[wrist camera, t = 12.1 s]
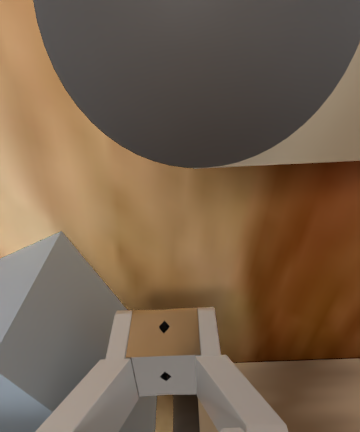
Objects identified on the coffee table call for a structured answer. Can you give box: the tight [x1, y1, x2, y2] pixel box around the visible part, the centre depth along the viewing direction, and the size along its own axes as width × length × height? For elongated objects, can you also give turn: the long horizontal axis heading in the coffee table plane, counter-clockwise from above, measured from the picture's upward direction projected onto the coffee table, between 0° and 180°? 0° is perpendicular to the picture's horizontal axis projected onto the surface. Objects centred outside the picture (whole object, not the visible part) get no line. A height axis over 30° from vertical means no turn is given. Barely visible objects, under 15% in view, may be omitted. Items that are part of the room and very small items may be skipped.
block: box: [0, 231, 157, 432], centre depth 11 cm, size 7×7×5 cm
